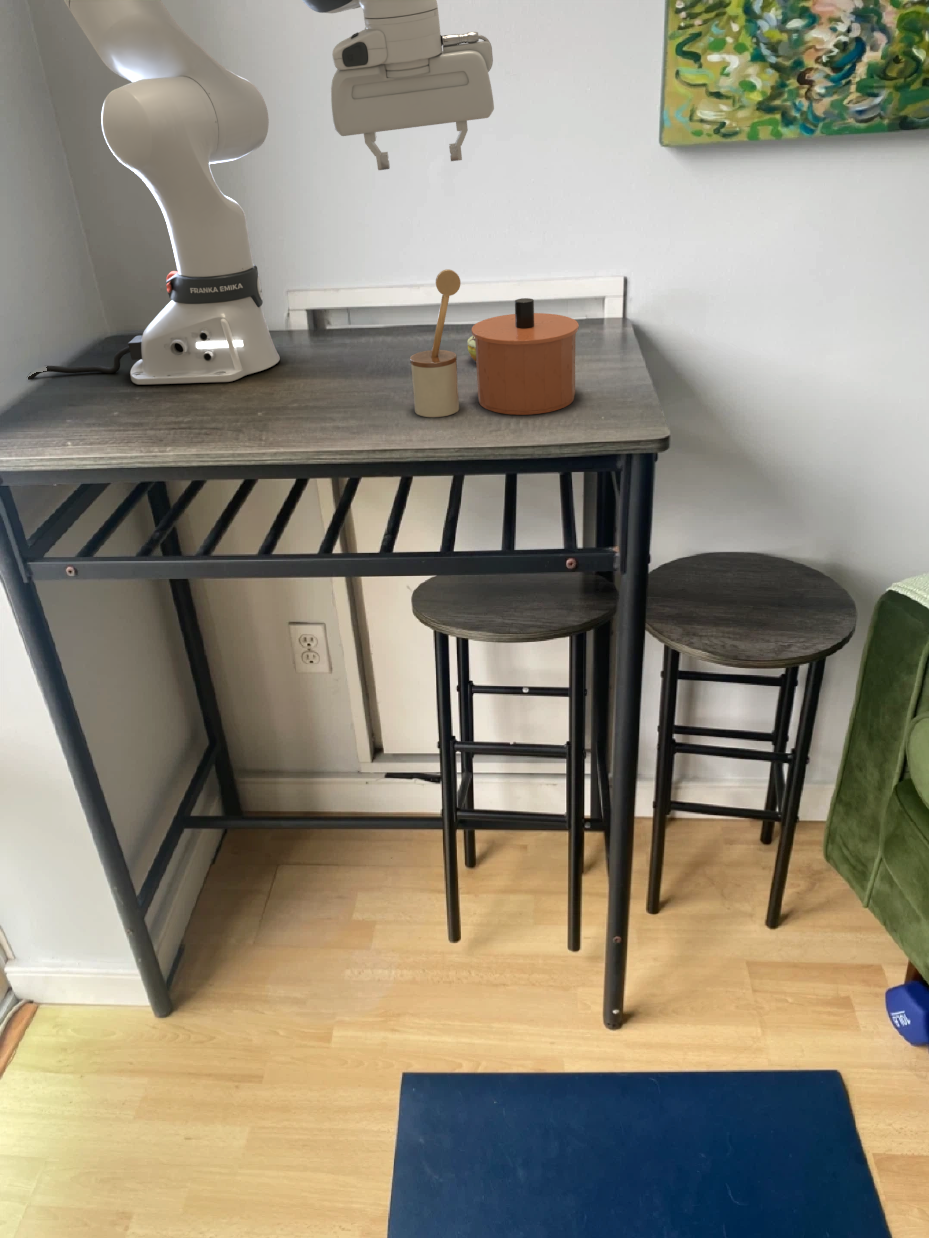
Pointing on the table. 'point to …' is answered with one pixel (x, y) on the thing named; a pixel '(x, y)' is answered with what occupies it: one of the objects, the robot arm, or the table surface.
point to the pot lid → (525, 326)
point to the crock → (437, 363)
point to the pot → (526, 376)
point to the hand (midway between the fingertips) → (420, 164)
